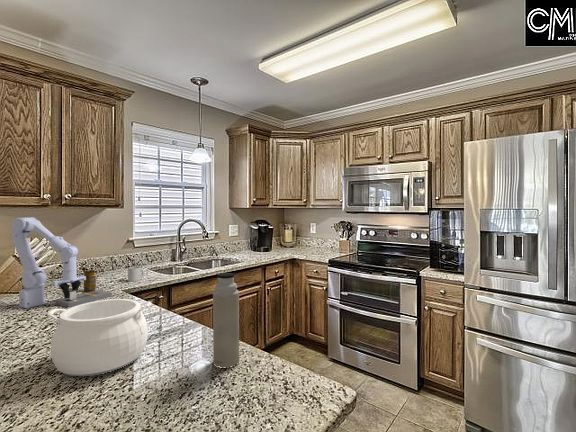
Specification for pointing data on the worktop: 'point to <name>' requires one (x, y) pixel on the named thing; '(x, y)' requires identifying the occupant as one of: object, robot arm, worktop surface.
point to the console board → (83, 298)
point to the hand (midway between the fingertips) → (70, 296)
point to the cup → (135, 274)
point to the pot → (98, 336)
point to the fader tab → (71, 294)
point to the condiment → (89, 281)
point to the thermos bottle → (225, 321)
